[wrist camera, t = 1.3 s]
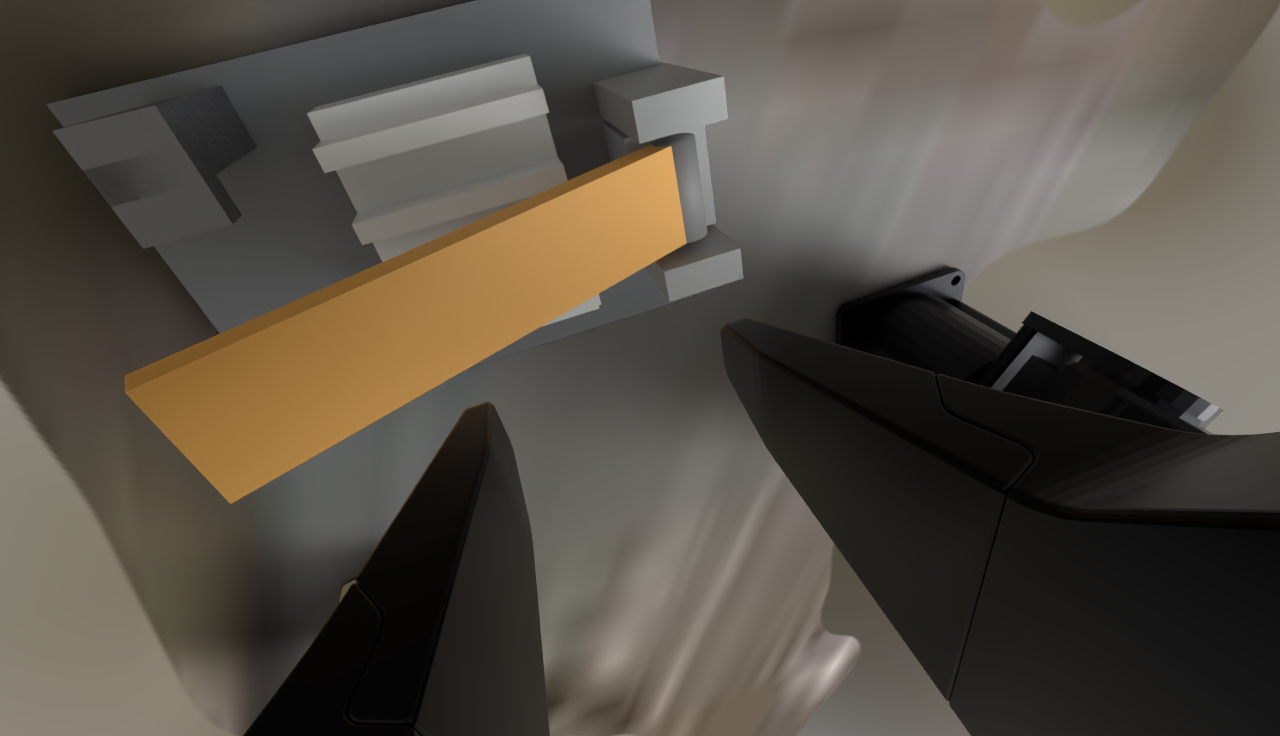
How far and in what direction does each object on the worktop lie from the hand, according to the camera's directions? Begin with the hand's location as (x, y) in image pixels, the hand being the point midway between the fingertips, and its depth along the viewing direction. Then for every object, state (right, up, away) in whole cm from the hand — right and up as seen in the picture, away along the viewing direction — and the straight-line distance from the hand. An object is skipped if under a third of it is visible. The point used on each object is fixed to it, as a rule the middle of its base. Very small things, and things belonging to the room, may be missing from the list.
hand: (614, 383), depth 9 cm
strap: (-3, +2, +5) cm, 6 cm away
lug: (-12, +7, +7) cm, 15 cm away
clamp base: (-6, +6, +10) cm, 13 cm away
